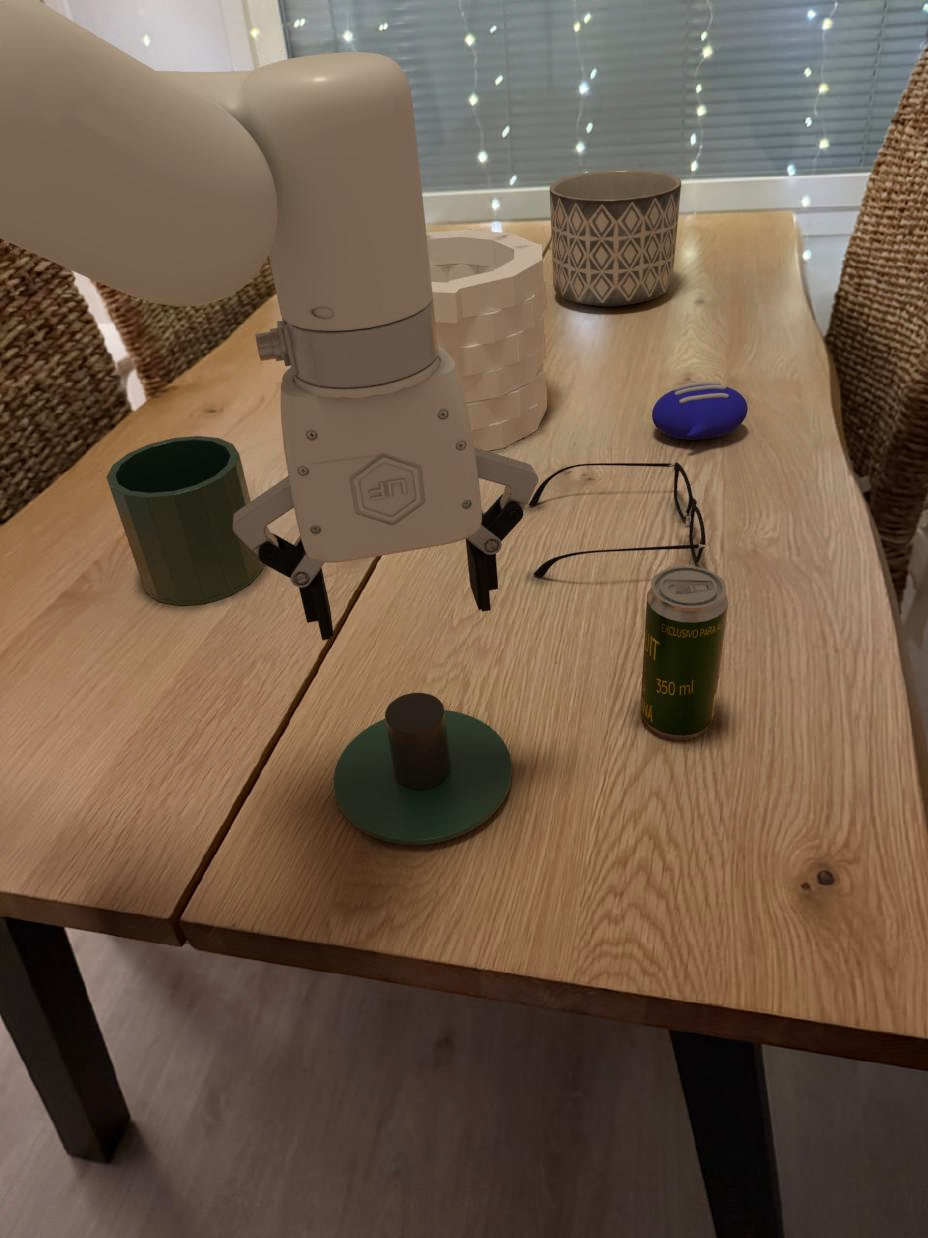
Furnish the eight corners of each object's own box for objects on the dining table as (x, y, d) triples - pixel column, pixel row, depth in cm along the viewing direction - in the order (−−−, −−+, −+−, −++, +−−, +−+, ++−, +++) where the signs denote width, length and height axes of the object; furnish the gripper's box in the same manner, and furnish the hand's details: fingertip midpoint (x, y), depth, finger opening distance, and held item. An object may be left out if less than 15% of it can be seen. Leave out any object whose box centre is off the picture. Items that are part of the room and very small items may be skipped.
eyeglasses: (710, 579, 83) (714, 541, 80) (534, 587, 83) (533, 550, 81) (679, 489, 96) (682, 454, 93) (527, 497, 97) (526, 463, 94)
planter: (681, 278, 150) (689, 168, 141) (664, 318, 136) (671, 199, 126) (566, 275, 156) (565, 169, 146) (538, 314, 142) (535, 199, 132)
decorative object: (657, 397, 98) (652, 373, 107) (652, 450, 101) (648, 422, 110) (758, 399, 97) (745, 375, 106) (750, 453, 100) (739, 425, 108)
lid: (304, 828, 63) (286, 759, 59) (378, 706, 72) (367, 640, 68) (479, 870, 59) (472, 800, 55) (533, 736, 68) (531, 668, 64)
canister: (118, 596, 87) (79, 488, 80) (186, 532, 96) (156, 431, 89) (224, 613, 84) (192, 503, 77) (284, 546, 92) (261, 441, 85)
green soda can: (705, 692, 71) (720, 561, 64) (720, 741, 66) (738, 607, 59) (634, 695, 71) (641, 566, 64) (645, 744, 67) (654, 612, 60)
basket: (394, 372, 127) (377, 228, 116) (565, 379, 121) (564, 228, 109) (324, 455, 108) (295, 292, 97) (523, 469, 102) (517, 296, 90)
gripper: (185, 396, 43) (264, 676, 53) (548, 342, 44) (556, 623, 55) (193, 341, 49) (263, 602, 59) (512, 294, 50) (526, 556, 61)
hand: (404, 612), depth 57 cm, fingers open, 9 cm apart
